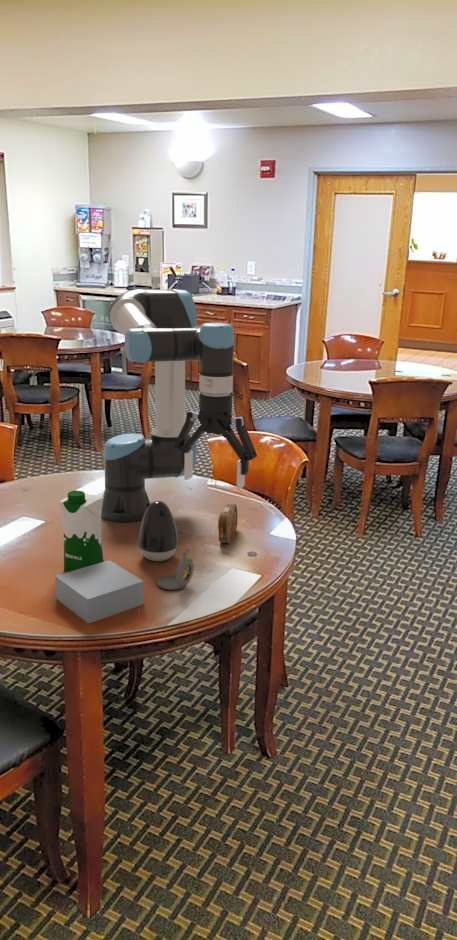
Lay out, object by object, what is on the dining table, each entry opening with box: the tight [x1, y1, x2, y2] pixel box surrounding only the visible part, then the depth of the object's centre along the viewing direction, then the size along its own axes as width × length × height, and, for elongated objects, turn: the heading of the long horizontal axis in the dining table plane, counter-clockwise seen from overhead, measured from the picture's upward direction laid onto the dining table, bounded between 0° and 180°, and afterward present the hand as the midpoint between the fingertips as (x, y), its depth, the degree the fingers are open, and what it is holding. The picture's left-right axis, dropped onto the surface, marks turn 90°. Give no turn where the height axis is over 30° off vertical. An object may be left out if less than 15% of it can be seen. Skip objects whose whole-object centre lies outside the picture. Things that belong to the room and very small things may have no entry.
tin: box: [217, 503, 238, 544], centre depth 199 cm, size 15×3×8 cm, turn 168°
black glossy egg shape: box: [137, 500, 179, 562], centre depth 184 cm, size 10×10×15 cm
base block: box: [54, 560, 144, 625], centre depth 162 cm, size 14×14×6 cm
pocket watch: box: [157, 548, 194, 591], centre depth 169 cm, size 8×8×10 cm
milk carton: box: [58, 490, 105, 572], centre depth 176 cm, size 9×9×20 cm
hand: (214, 482), depth 169 cm, fingers open, 13 cm apart
